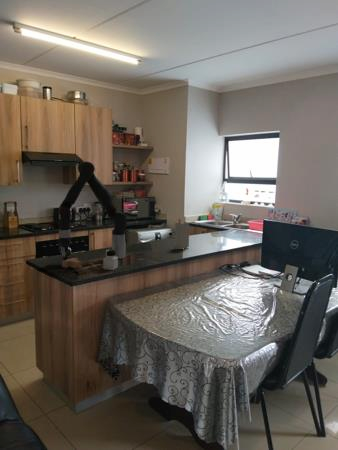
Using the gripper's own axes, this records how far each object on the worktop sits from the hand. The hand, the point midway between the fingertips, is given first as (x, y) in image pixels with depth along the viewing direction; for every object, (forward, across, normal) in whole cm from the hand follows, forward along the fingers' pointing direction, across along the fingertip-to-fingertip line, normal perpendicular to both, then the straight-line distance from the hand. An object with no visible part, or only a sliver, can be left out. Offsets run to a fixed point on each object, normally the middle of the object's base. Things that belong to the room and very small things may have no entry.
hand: (65, 261), depth 236 cm
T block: (+1, -9, 0) cm, 9 cm away
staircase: (+2, -28, -94) cm, 98 cm away
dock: (+2, -22, 0) cm, 22 cm away
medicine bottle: (+2, -29, -13) cm, 32 cm away
